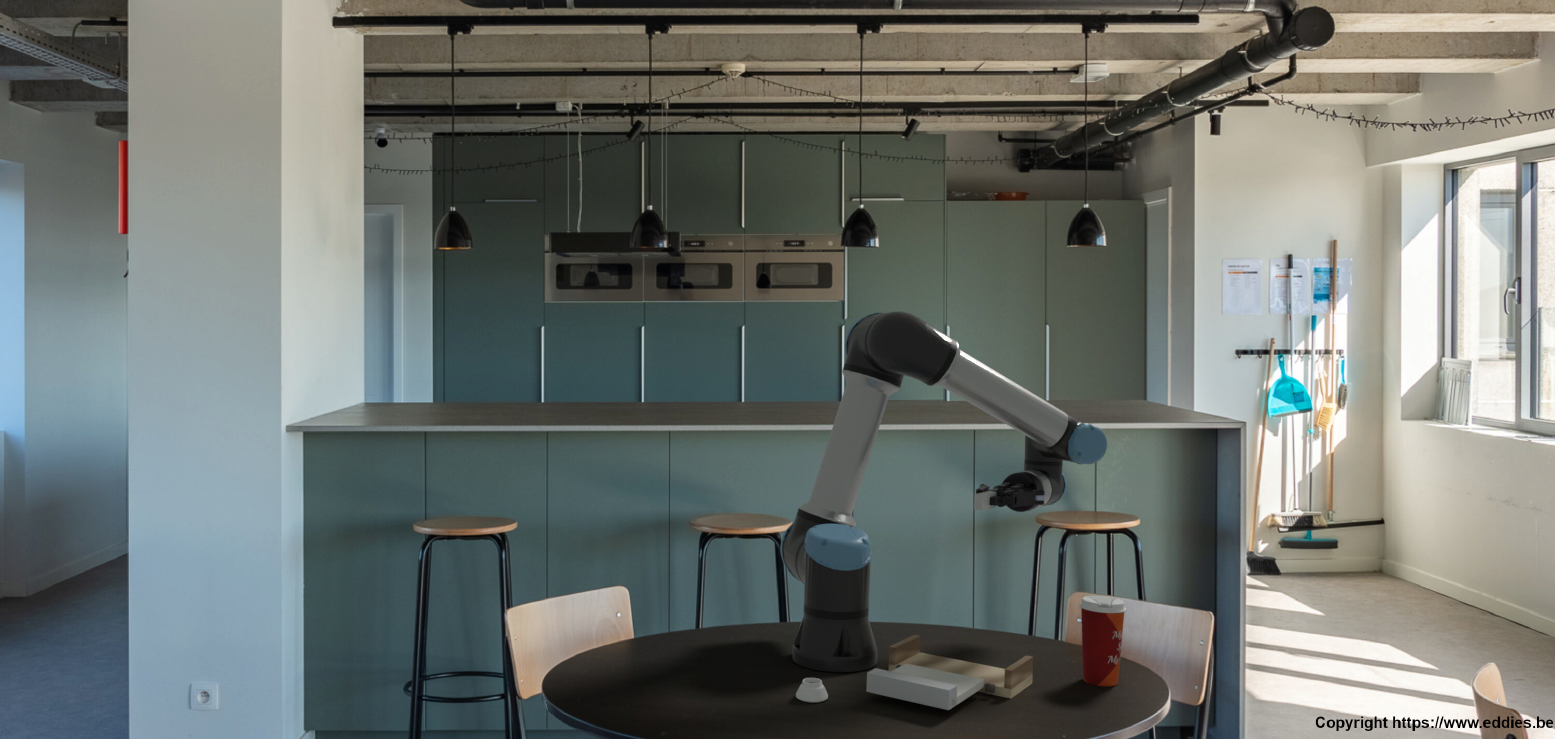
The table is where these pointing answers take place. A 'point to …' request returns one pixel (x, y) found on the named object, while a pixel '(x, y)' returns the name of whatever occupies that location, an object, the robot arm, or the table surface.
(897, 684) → the tailgate
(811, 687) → the white jar
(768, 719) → the table surface
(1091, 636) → the paper cup
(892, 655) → the cart bed
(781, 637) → the table surface
